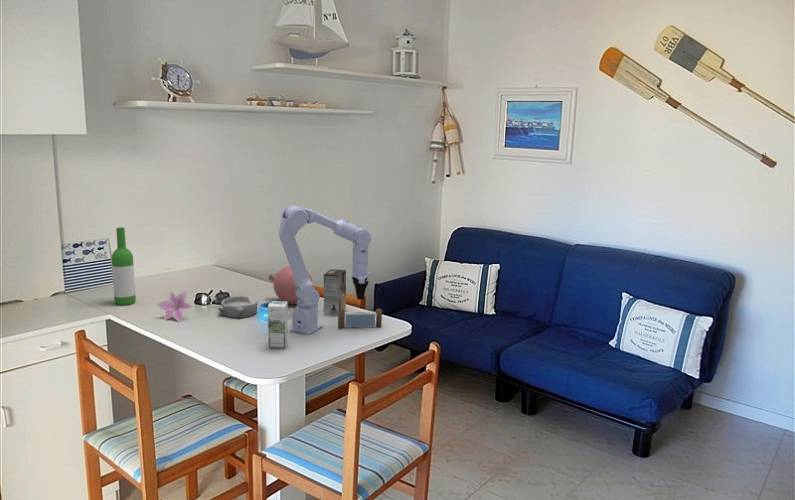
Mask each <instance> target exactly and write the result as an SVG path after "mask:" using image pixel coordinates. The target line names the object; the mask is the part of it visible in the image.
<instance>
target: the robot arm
mask: <svg viewBox="0 0 795 500" xmlns="http://www.w3.org/2000/svg"><path fill="white" fill-rule="evenodd" d="M280 219H281V221H280V223H279V224H280V225H279V229H278V237H279V239H280V242H281V245H282V248H283V250H284V253H285V256H286V259H287V262H288V266H290V268H291V270H292V273H293V276H294V279H295V286H296V291H295V293H296V296H297V297H298V298H299V299H298V301H297V303H296V307H295V309H294V310H293V311H292V314H291V316H292V317H291V321H292V322H291V323H292V325H291V326H292V327H291V328H290V329H289V331H290V332H295V333H300V334H301V333H302V334H307V335H310V334H312V333H314V332H315V331H317V330H319V329H320V328H323V325H322V324H319V321H318V317H319V313H318V310H319V307H318V306H319V305H318V304H319V301H320V293H319V291H318V290H316V289H315V287H314V284H313V281H312V282H311V280H310V279H309V276H308V273H309V272H308V270H307V268H306V264H305V261H304V259H303V256H302V254H301V251H300V247H299V245H298V242H297V239H296V235H297V234H298V233H299V231H300V230H301V229H302V228H303V227H304V226H305V225H306V224H313V223H317V224H318V225H320V226H323V227H326V228H329V229H331V230H333V234H334V235H335V236H338V237H341V238H342V239H345V240H347V241H349V242H352V272H351V279H352V283H353V285H354V289H355V290H354V291H355V295H356V298H357V300H364V299H365V294H366V289H367V287H368V285H369V280H368V277H370V276H372V272H369V245H370V243H371V241H372V236H371V234H370V232H369V231H368V230H367V229H365V228H363V227H360V225H358V224H356V225H355V224H353V223H350V222H349V220H348V219H346V218H344V219H339V220H338V219H337V220H334V219H332V218H330V217H328V216H325V215H324V214H322V213H319V212H317V211H316V210H313V209H310V208H306V207H302V206H298V205H296V204H289V205H287V206H286V207H285V208H284V210H283V212H281V218H280ZM307 272H308V273H307Z"/></svg>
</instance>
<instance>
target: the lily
mask: <svg viewBox="0 0 795 500" xmlns="http://www.w3.org/2000/svg"><path fill="white" fill-rule="evenodd" d="M187 295H188V290H184V291H182V292H180V293H179V294H177V295H176V294H175V293H173V292H172V291H170V292H169V294H168V300H164V301H160V302H159V303H157V304H156V307H158V308H159V309H161V310H163V311H165V314H164V317H163V321H166V320H168V319H170V318H171V317H173V318H174V319H175V320H176V321H177V322H178V323H182V321H183V312H184V311H187V310H190V309H192V308H193V306H192V305H191V304H189V303H187V302H186V298H187Z"/></svg>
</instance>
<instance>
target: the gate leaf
mask: <svg viewBox="0 0 795 500" xmlns="http://www.w3.org/2000/svg"><path fill="white" fill-rule="evenodd" d="M345 327H347V328H350V327H353V328H354V327H355V328H357V327H376V311H347V312H346V311H345Z"/></svg>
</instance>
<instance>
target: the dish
mask: <svg viewBox="0 0 795 500" xmlns="http://www.w3.org/2000/svg"><path fill="white" fill-rule="evenodd" d="M217 309H218V311H219V313H221V314H222V315H223V316H225V317H228V318H235V319H236V318H237V319H238V318H241V319H242V318H249V317H252V316H254V315H255V314H256V313H257V312H258V311H257V310H258V301H257V300H256V301H254V302H253V303H252V301H251V300H250V298H249V296H246V295H236V296H228V297H227V298H224V299H223V300H222V301H221V303H220V306H219V307H218V308H217Z"/></svg>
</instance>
